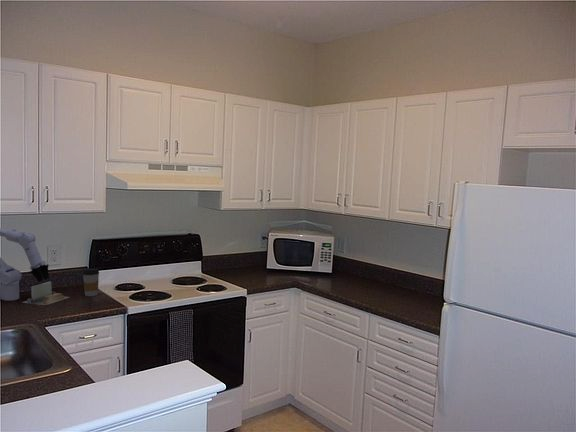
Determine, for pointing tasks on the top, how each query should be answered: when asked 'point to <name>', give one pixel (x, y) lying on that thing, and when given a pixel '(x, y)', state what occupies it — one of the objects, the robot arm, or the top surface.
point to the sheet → (41, 290)
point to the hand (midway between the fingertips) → (43, 280)
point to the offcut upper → (53, 296)
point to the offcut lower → (54, 300)
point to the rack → (39, 300)
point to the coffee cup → (91, 281)
